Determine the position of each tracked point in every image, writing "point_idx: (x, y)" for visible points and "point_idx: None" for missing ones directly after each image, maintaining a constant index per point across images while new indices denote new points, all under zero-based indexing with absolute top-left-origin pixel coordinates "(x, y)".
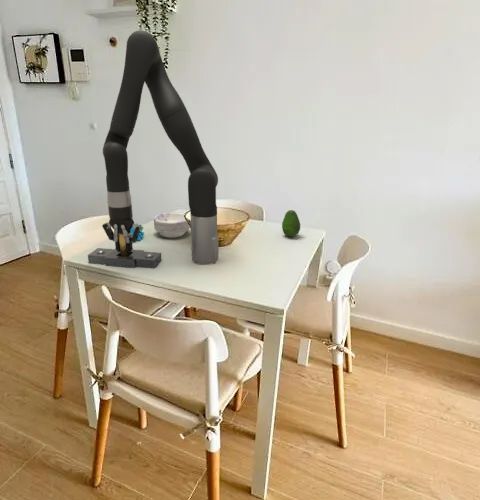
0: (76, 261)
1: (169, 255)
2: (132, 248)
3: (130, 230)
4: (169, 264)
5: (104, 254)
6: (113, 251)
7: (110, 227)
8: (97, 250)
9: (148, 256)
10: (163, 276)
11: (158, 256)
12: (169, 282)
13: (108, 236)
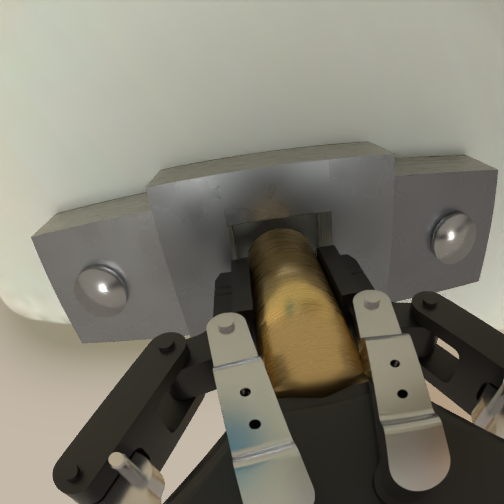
0: (39, 310)
1: (478, 73)
2: (356, 265)
3: (416, 374)
4: (501, 194)
5: (154, 313)
6: (171, 253)
7: (157, 473)
8: (79, 297)
9: (454, 261)
10: (485, 303)
11: (488, 214)
12: (498, 327)
13: (167, 411)
